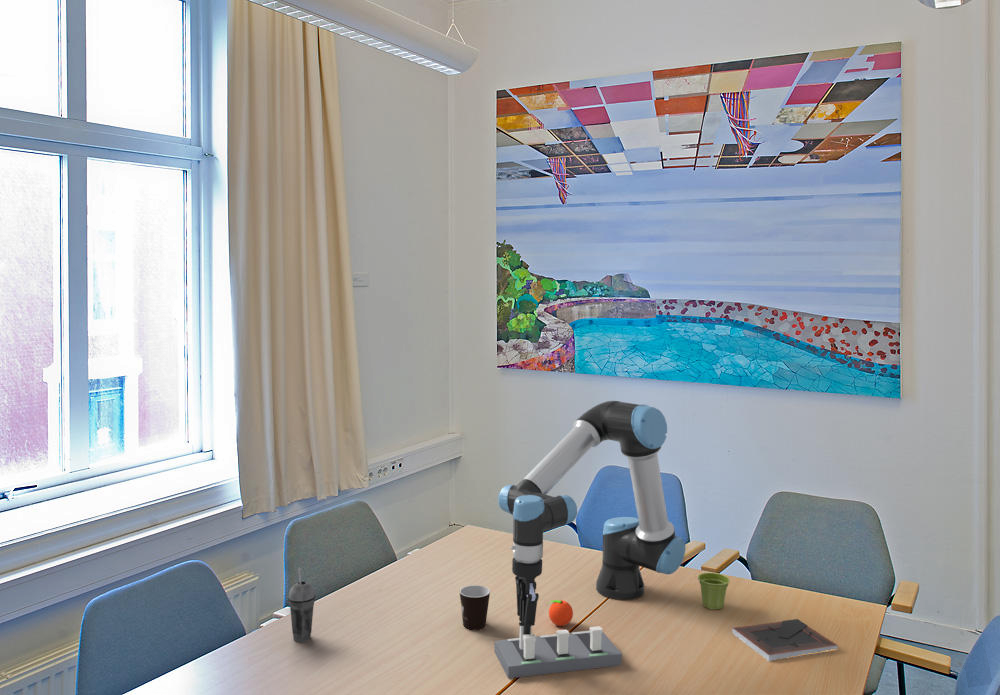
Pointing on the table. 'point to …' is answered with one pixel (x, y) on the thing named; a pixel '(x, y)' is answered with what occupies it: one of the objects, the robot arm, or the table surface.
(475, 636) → the table surface
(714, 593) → the plant pot
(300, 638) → the beverage cup
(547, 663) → the switch panel
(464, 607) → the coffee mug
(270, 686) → the table surface
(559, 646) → the switch middle
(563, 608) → the clementine
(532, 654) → the switch
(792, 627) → the brown book
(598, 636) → the switch
